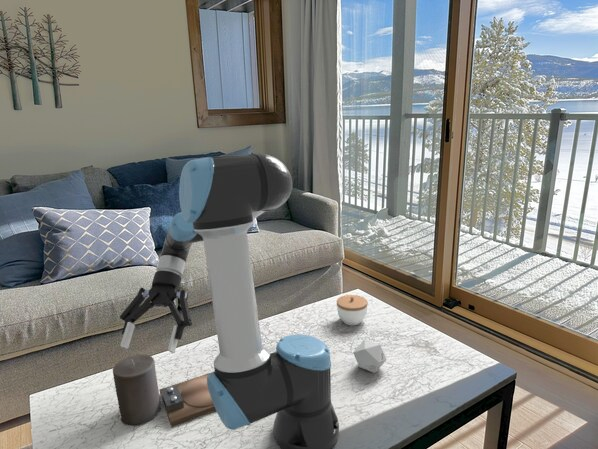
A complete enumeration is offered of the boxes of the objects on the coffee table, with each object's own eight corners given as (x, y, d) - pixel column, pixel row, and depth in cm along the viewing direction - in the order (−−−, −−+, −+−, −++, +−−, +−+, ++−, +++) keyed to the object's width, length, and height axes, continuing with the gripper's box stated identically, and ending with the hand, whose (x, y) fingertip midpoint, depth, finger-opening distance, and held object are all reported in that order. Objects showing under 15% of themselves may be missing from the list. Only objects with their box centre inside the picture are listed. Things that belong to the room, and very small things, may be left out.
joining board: (256, 395, 109) (255, 389, 108) (171, 427, 99) (170, 420, 98) (237, 368, 121) (236, 363, 120) (160, 394, 110) (159, 388, 110)
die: (362, 382, 114) (384, 358, 111) (342, 357, 118) (363, 334, 115) (375, 377, 120) (396, 355, 117) (356, 353, 125) (376, 331, 122)
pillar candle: (118, 430, 98) (108, 375, 94) (123, 403, 107) (114, 353, 103) (160, 420, 101) (153, 367, 97) (161, 395, 110) (154, 346, 106)
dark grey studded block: (250, 383, 111) (250, 374, 111) (167, 413, 101) (166, 403, 100) (241, 370, 117) (240, 361, 117) (162, 397, 107) (160, 387, 106)
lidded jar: (351, 311, 153) (351, 287, 150) (373, 321, 145) (374, 297, 142) (330, 320, 146) (330, 296, 144) (352, 332, 138) (352, 306, 136)
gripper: (214, 281, 118) (196, 356, 108) (136, 277, 123) (112, 349, 113) (204, 271, 112) (185, 350, 102) (123, 267, 117) (96, 342, 107)
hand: (147, 349), depth 108 cm, fingers open, 13 cm apart
